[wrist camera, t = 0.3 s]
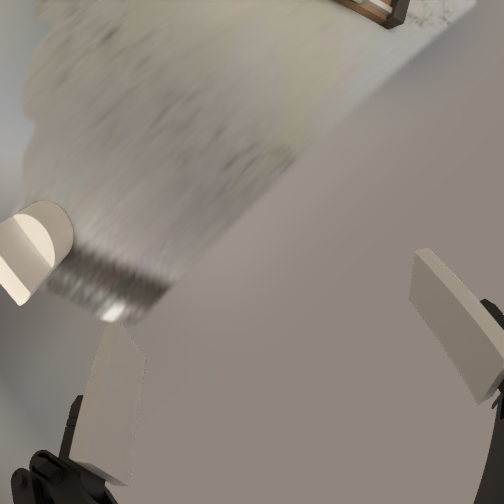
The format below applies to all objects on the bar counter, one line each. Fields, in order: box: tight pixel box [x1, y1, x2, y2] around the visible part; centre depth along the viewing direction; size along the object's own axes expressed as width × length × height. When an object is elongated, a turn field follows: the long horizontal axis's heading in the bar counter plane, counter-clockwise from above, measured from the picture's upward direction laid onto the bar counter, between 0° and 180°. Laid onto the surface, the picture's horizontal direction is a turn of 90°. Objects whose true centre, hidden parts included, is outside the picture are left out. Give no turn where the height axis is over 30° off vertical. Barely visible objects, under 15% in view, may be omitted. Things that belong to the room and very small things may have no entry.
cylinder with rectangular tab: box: [0, 201, 74, 305], centre depth 30 cm, size 9×9×12 cm
